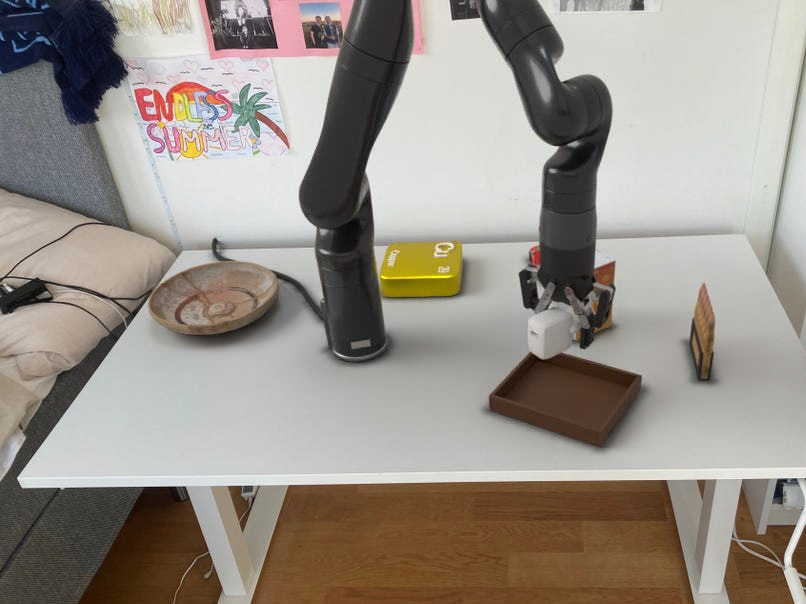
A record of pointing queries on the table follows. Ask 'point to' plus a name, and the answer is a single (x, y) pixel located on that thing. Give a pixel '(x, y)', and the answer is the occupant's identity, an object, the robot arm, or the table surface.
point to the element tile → (422, 269)
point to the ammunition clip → (702, 336)
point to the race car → (534, 256)
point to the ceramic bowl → (214, 297)
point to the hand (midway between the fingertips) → (564, 340)
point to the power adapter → (552, 331)
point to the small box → (604, 276)
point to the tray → (567, 396)
